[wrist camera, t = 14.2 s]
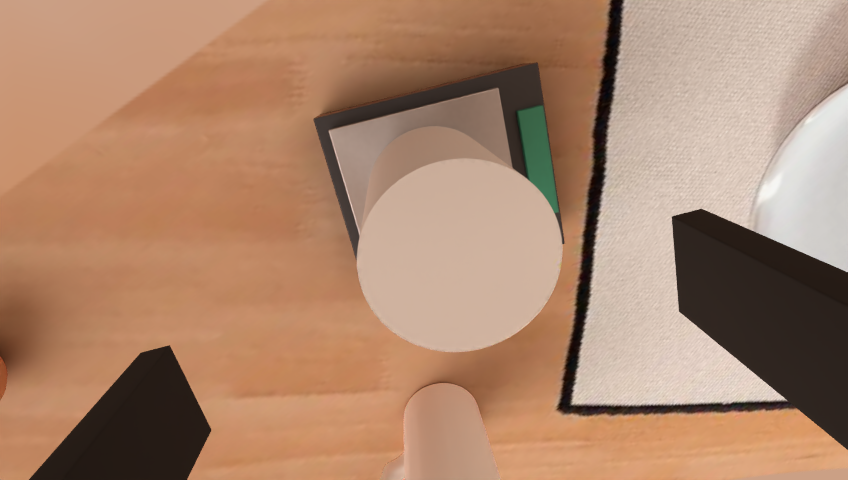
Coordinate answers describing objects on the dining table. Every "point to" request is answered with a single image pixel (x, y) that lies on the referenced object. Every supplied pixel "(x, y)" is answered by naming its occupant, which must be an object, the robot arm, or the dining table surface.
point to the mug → (443, 438)
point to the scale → (513, 83)
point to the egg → (2, 377)
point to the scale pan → (371, 136)
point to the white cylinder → (454, 243)
